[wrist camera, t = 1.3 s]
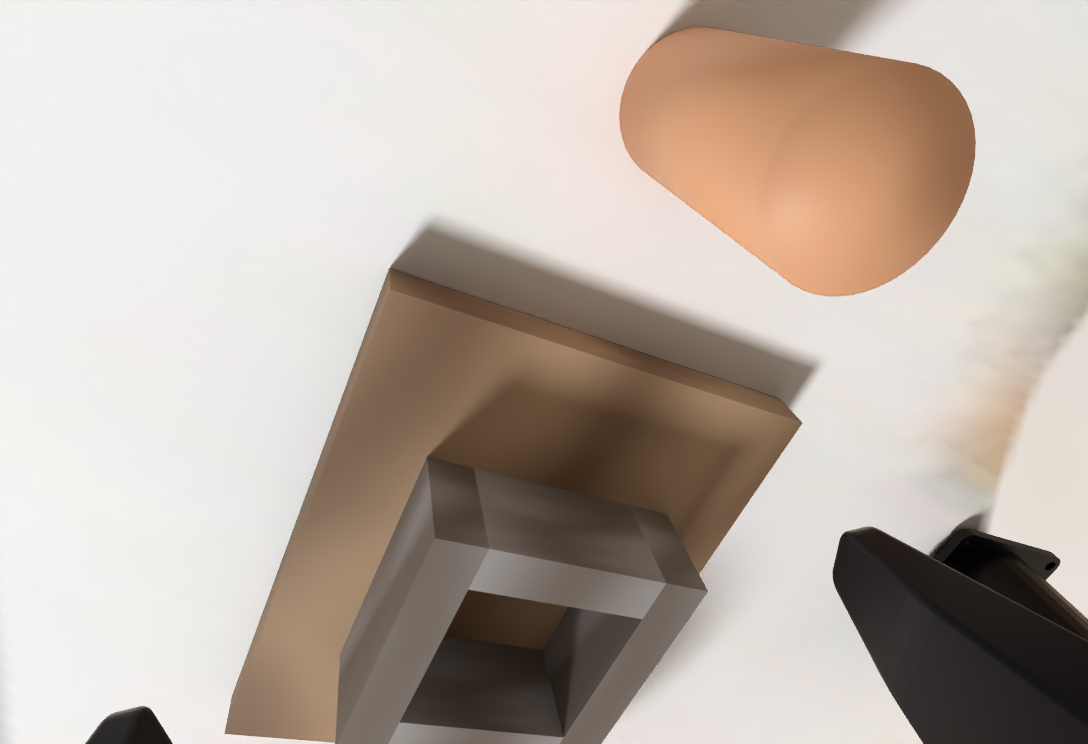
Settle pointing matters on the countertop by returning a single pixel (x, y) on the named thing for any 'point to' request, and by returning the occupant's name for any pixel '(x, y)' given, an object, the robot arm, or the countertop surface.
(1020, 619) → the robot arm
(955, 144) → the peg
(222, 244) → the countertop surface
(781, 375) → the countertop surface
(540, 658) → the socket board
